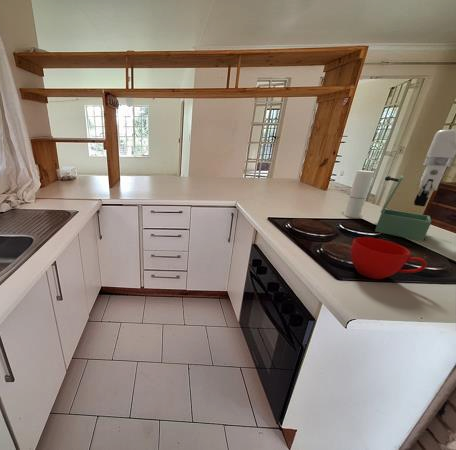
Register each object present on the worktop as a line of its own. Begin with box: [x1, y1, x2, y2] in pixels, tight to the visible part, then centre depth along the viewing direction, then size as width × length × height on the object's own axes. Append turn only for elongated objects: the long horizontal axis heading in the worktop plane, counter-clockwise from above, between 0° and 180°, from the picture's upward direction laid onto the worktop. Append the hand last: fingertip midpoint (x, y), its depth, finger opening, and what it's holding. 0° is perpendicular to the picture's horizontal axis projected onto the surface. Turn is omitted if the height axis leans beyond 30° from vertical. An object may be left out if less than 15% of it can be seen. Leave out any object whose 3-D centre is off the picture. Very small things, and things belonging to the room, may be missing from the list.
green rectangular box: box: [374, 208, 432, 242], centre depth 108 cm, size 16×13×9 cm
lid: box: [380, 174, 405, 213], centre depth 110 cm, size 16×13×5 cm
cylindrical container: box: [343, 169, 375, 219], centre depth 129 cm, size 7×7×25 cm
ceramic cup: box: [350, 236, 428, 280], centre depth 73 cm, size 13×17×10 cm
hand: (419, 204), depth 103 cm, fingers open, 4 cm apart
